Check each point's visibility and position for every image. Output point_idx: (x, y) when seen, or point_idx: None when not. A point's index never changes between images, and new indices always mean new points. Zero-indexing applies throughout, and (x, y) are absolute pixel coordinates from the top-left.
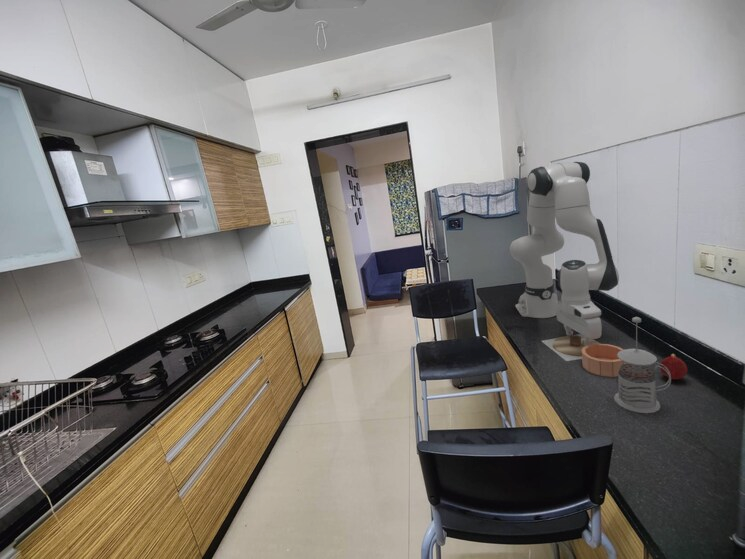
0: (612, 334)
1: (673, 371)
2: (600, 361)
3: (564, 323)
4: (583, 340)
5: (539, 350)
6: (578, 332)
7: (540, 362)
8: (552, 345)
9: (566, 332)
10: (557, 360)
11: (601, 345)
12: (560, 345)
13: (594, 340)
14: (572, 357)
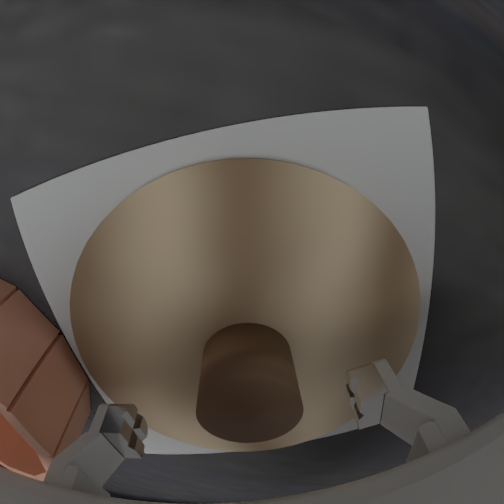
0: (345, 476)
1: None
2: None
3: (429, 474)
4: (123, 439)
5: (242, 20)
6: (108, 498)
7: (37, 16)
8: (310, 166)
9: (390, 376)
10: (37, 136)
11: (40, 458)
12: (250, 235)
13: (283, 446)
14: (55, 258)
